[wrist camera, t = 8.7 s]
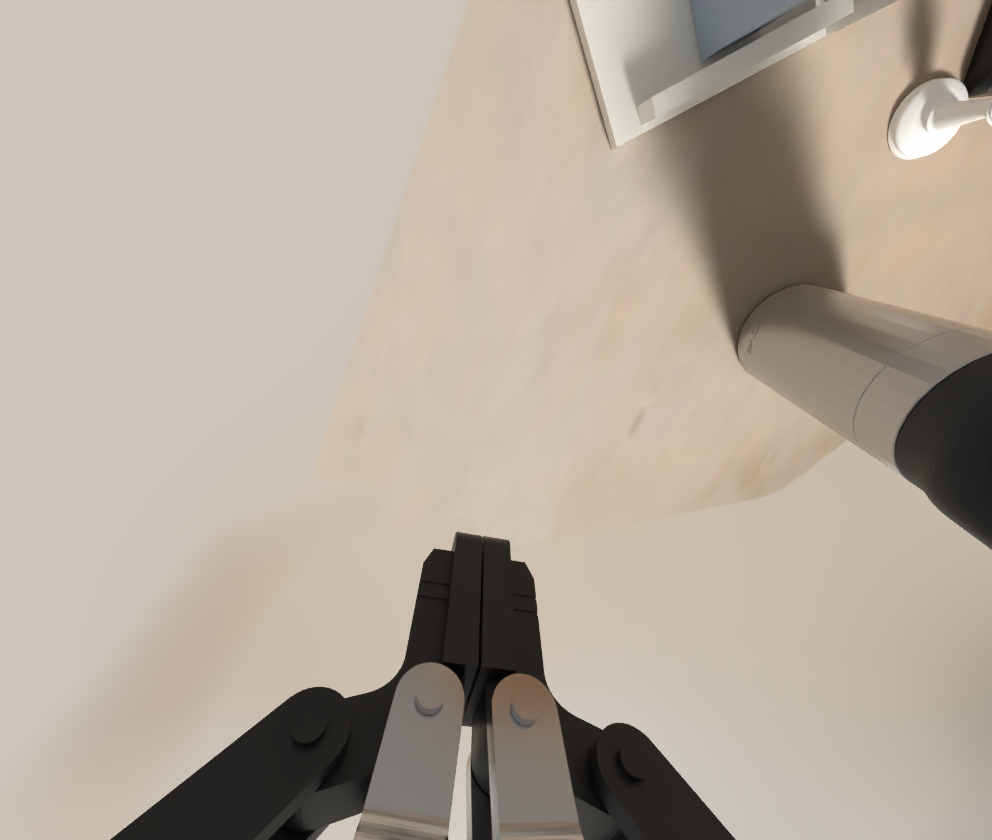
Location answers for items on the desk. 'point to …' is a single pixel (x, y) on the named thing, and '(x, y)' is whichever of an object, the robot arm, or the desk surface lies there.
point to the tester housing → (684, 55)
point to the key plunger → (733, 20)
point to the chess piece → (933, 117)
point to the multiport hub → (981, 64)
